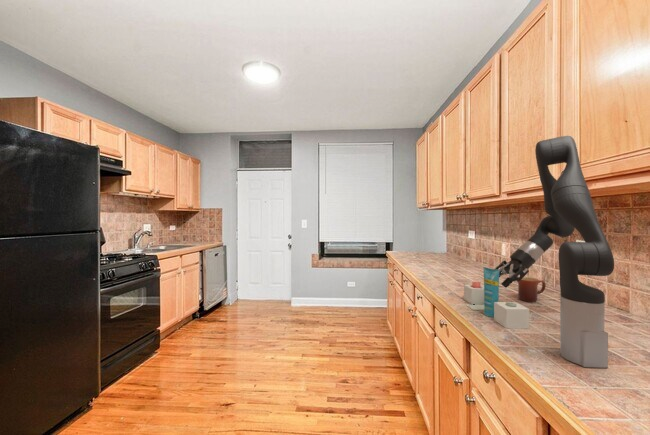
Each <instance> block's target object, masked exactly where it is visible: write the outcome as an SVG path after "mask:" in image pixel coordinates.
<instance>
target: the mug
mask: <svg viewBox="0 0 650 435" xmlns="http://www.w3.org/2000/svg"><path fill="white" fill-rule="evenodd" d="M519 277H520V276H518V278H519ZM540 283H541V289H540V290H538V285H539V284H540ZM517 284H518V286H517V287H518V288H517V295H518V299H519V300H520V301H522V302H526V303H535V302H537V301H538V297H539V296H538V295H540V294H542V293H543V292H544V291H545V290H546V282H545V281H544V280H540V279H539V278H536V277H529V276H524V277H523V278H522V279H521V280H520V281H519V282H517Z"/></svg>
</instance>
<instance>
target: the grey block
mask: <svg viewBox="0 0 650 435" xmlns="http://www.w3.org/2000/svg"><path fill="white" fill-rule="evenodd" d="M463 300H464V301H465V302H467V303H469V305H473V304H475V305H484V285H482V284H481V288H473V287H472V284H463Z"/></svg>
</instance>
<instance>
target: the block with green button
mask: <svg viewBox="0 0 650 435" xmlns="http://www.w3.org/2000/svg"><path fill="white" fill-rule="evenodd" d="M493 320H494V322H497V323H498V324H499V325H501V326H502V327H504V328H505V329H514V330H515V329H518V330H519V329H521V330H523V329H524V330H528V329H530V309H529V308H528V307H525V306H524V305H522V304H519V303H518V302H515V301H514V302H513V301H509V302H508V301H498V302H494V317H493Z"/></svg>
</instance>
